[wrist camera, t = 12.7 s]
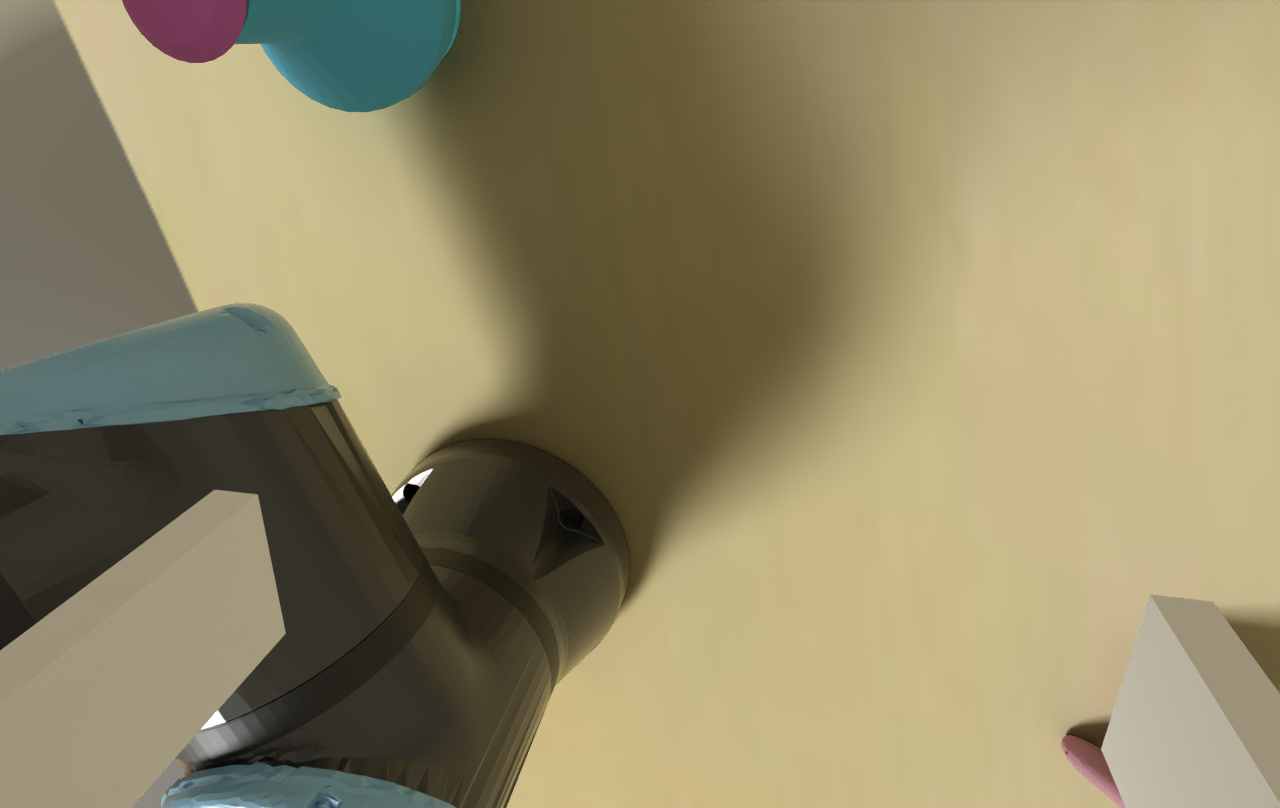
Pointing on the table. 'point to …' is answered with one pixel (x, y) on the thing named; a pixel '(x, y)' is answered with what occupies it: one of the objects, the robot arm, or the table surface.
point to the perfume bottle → (314, 41)
